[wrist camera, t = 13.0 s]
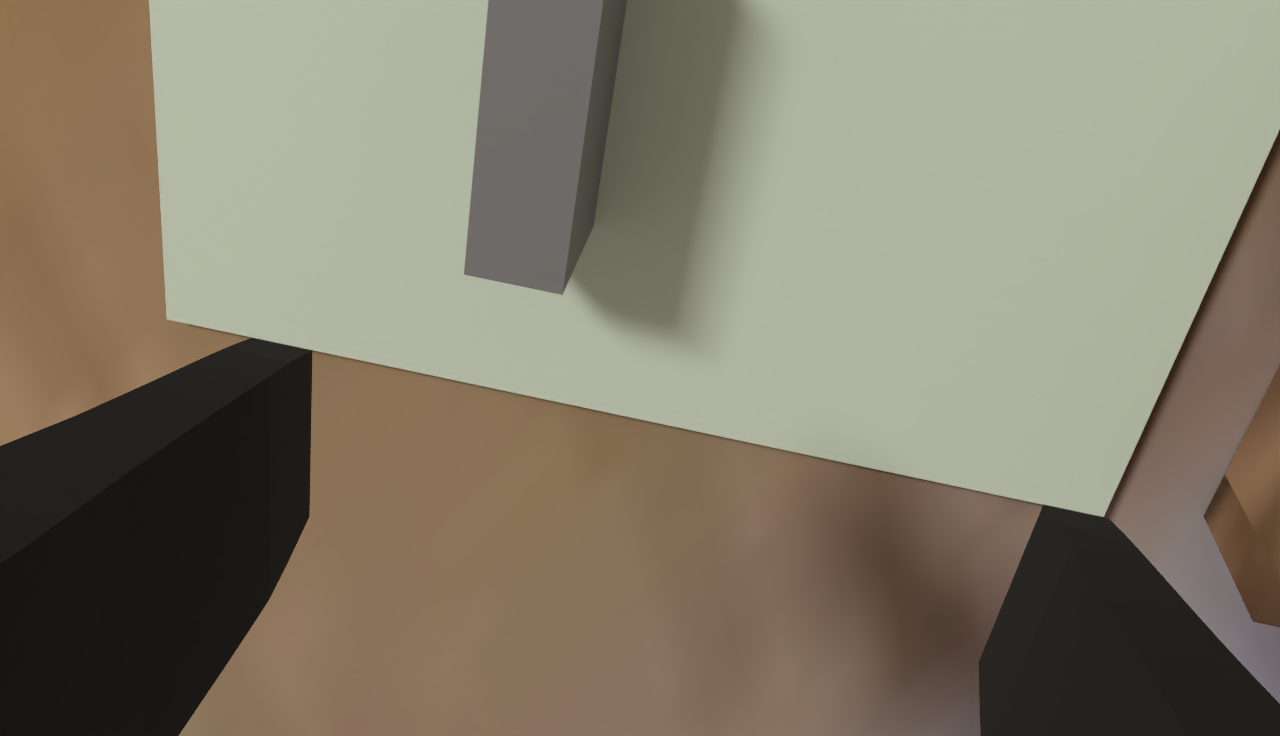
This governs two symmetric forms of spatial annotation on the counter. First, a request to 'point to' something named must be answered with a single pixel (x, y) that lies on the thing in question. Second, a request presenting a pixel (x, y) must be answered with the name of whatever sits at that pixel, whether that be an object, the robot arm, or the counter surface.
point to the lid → (732, 208)
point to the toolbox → (1253, 512)
